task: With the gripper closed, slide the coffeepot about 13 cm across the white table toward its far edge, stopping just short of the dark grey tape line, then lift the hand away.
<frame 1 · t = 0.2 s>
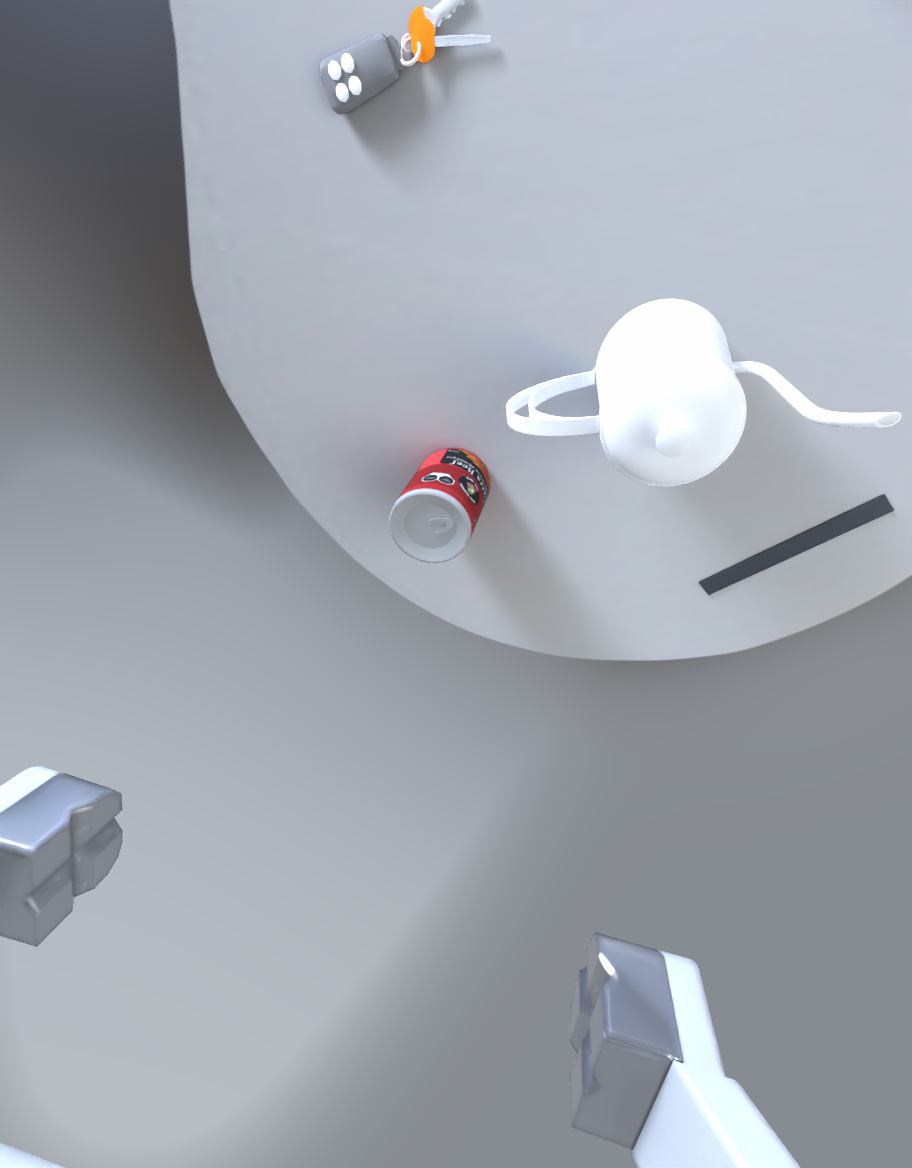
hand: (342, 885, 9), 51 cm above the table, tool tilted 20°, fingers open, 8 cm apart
canned food: (456, 478, 62), on the table
tape line: (788, 548, 58), on the table
coffeepot: (665, 363, 51), on the table
key chain: (405, 54, 43), on the table
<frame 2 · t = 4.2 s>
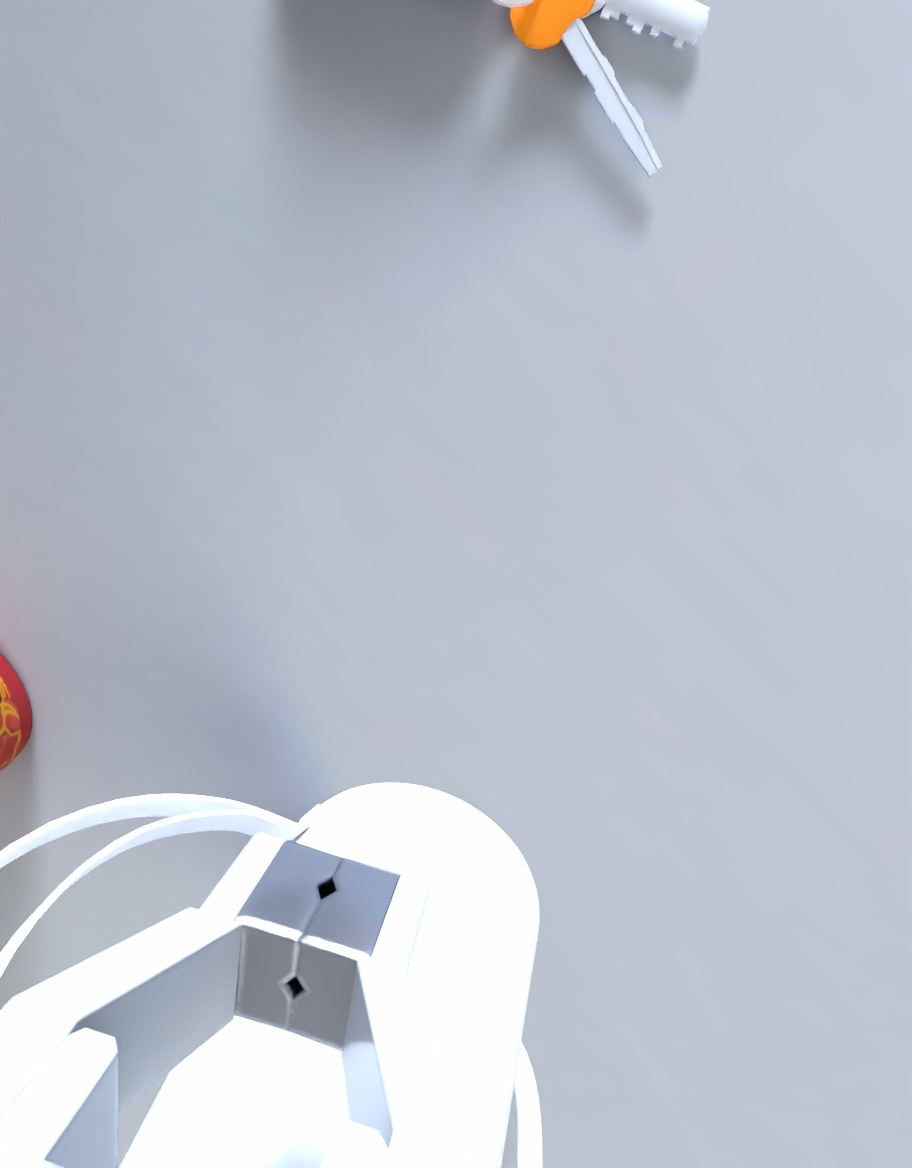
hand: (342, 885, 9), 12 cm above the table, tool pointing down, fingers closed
coffeepot: (424, 881, 25), on the table
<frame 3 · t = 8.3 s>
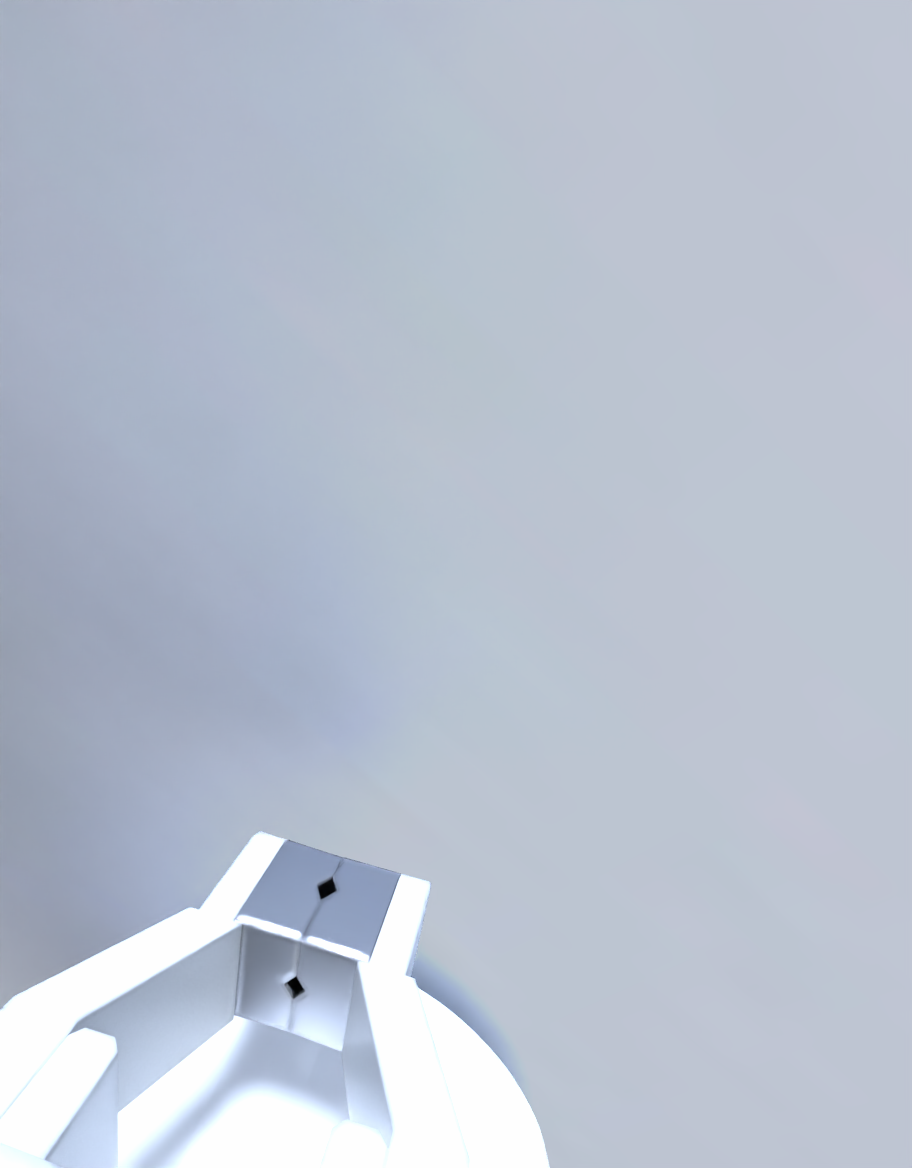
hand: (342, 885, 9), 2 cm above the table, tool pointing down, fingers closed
coffeepot: (344, 1086, 14), on the table, touching arm
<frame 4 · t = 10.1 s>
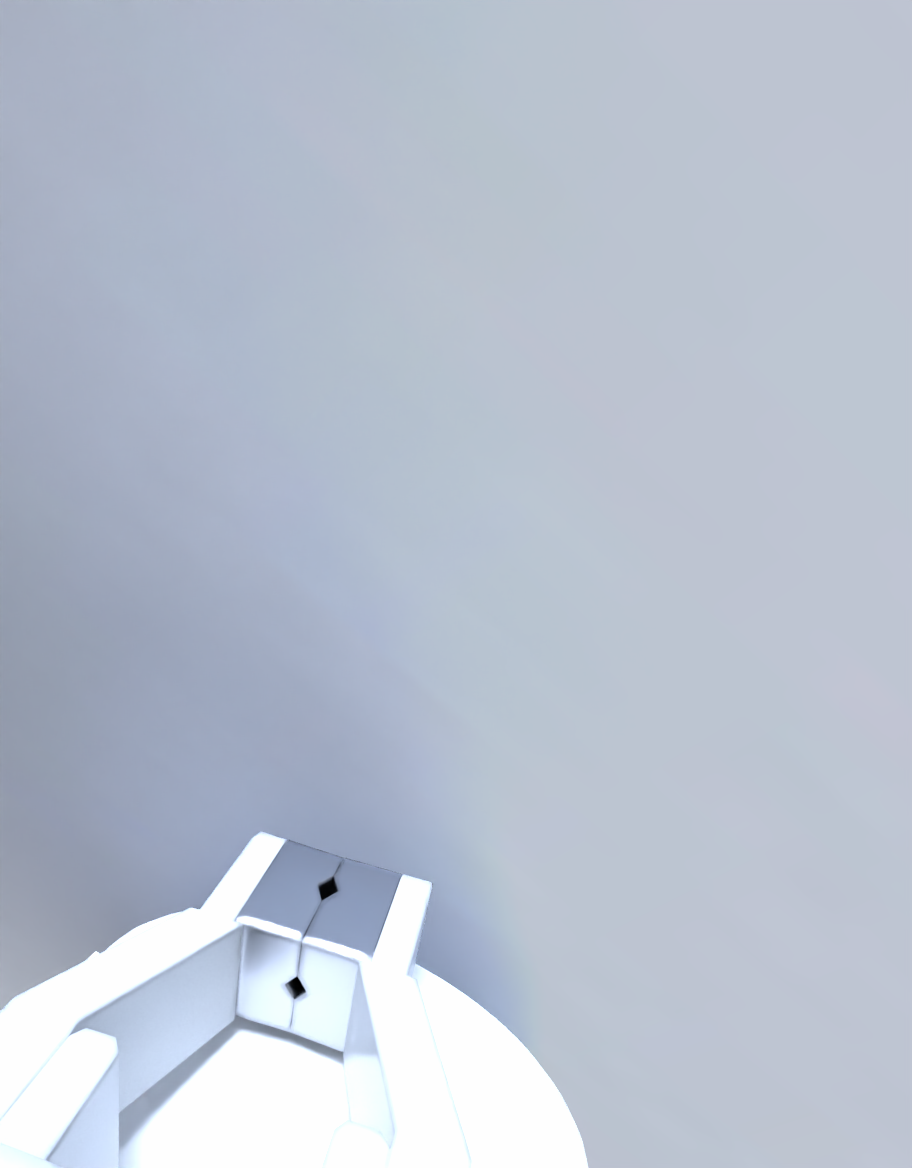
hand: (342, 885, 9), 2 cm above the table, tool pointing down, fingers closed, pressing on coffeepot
coffeepot: (362, 1050, 13), point 1 cm above the table, touching arm, gripper
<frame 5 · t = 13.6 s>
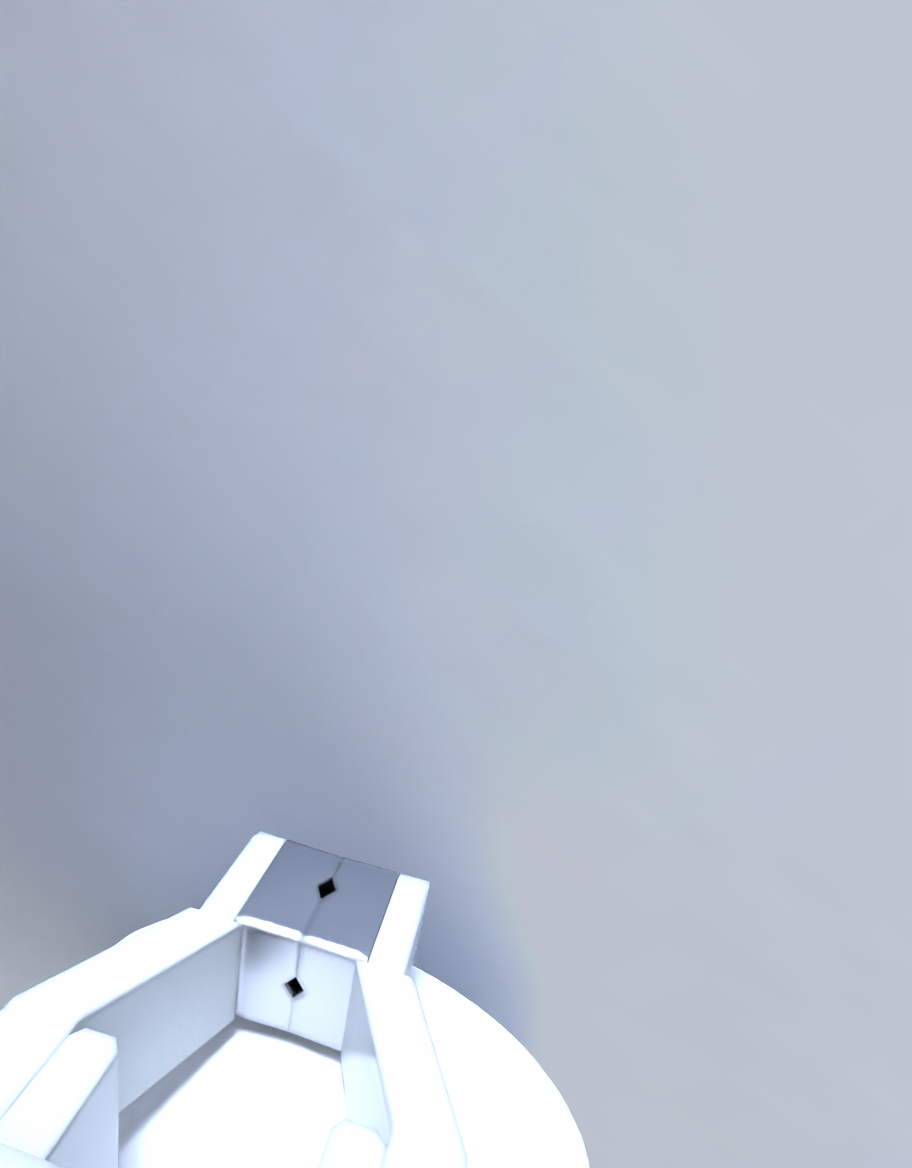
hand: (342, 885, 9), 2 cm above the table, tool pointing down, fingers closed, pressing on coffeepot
coffeepot: (362, 1053, 13), point 1 cm above the table, touching arm, gripper
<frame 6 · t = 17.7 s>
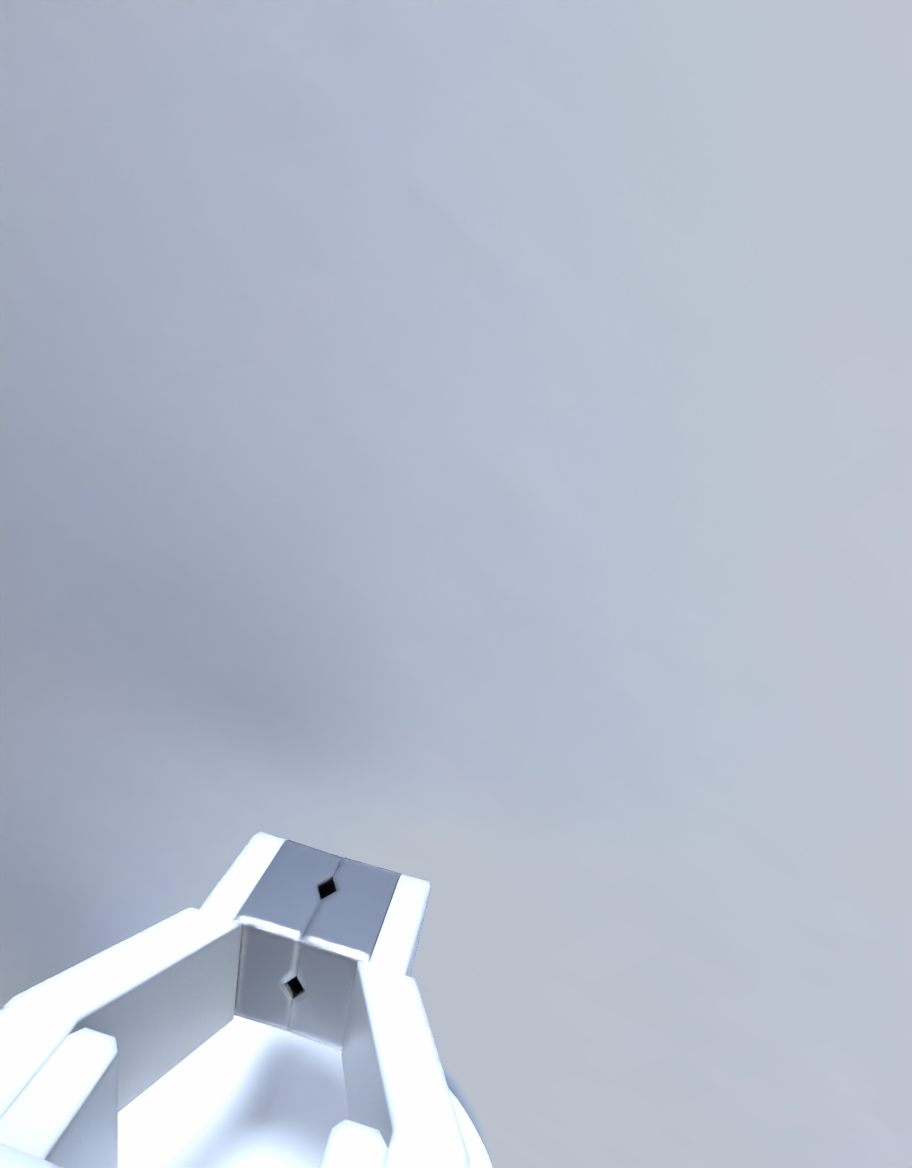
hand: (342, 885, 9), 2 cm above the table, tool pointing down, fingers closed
coffeepot: (310, 1127, 15), on the table
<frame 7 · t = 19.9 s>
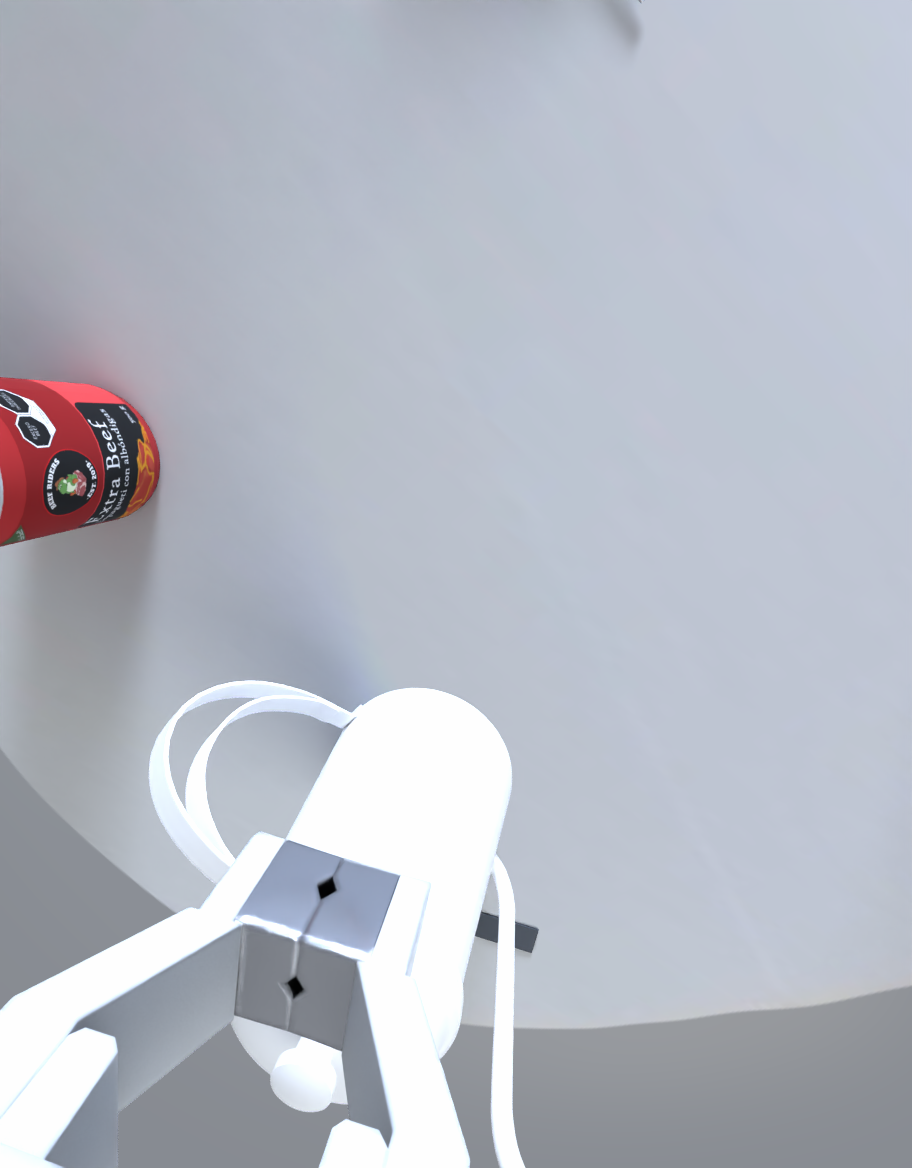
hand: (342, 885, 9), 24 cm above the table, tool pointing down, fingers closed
canned food: (106, 452, 34), on the table
tape line: (406, 902, 39), on the table
coffeepot: (432, 764, 36), on the table
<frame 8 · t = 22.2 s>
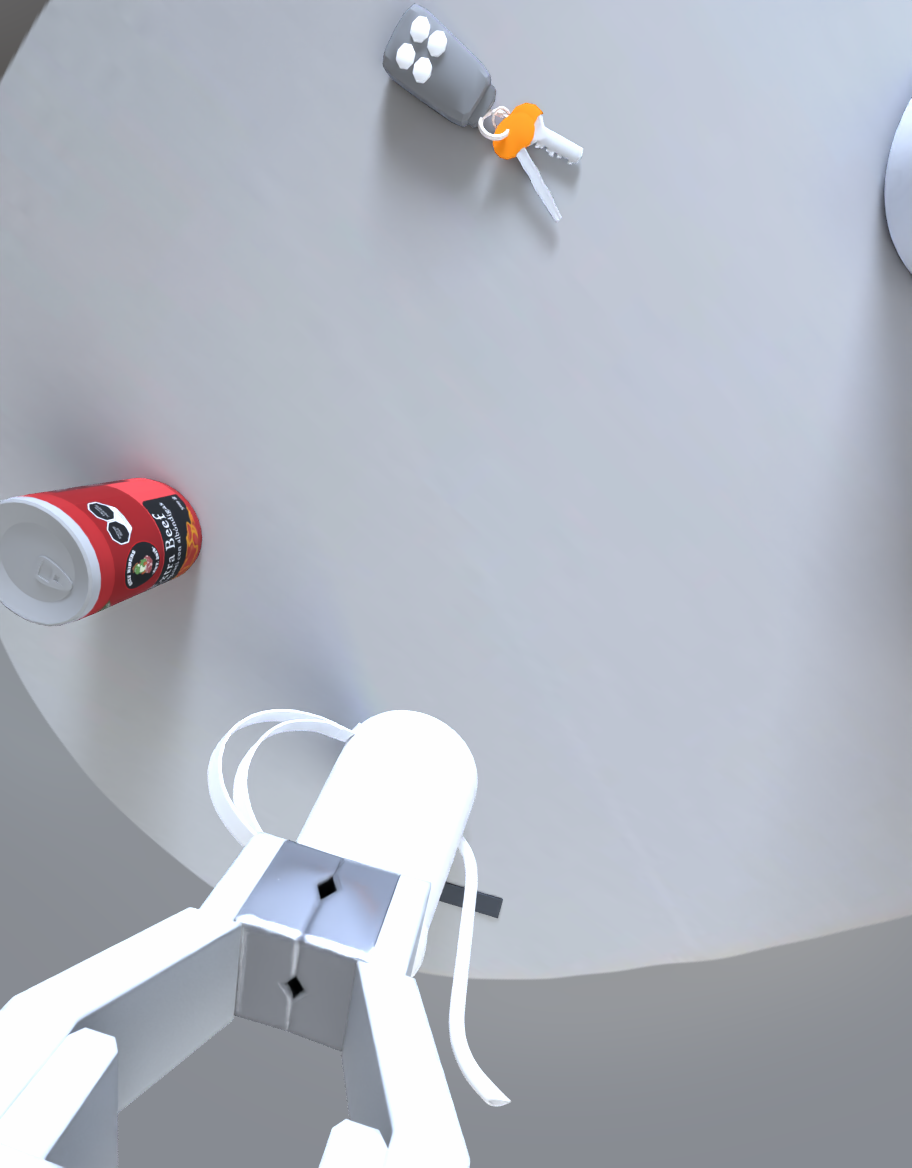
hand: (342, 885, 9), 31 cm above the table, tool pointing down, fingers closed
canned food: (159, 527, 44), on the table
tape line: (397, 877, 49), on the table
coffeepot: (417, 769, 46), on the table
key chain: (490, 121, 33), on the table
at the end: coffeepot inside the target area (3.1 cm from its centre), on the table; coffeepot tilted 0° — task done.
